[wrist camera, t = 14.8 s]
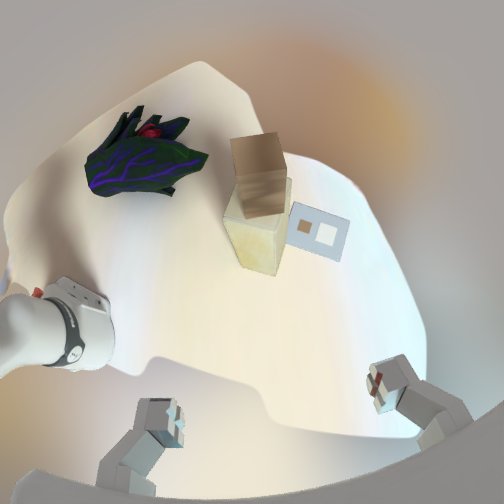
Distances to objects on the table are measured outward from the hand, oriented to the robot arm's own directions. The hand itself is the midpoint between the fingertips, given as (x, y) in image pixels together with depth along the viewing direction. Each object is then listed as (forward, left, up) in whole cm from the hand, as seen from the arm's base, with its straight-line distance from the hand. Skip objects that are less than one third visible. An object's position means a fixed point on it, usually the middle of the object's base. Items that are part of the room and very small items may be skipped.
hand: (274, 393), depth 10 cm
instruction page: (-3, +25, -39) cm, 46 cm away
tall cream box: (-10, +16, -39) cm, 43 cm away
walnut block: (-10, +15, -18) cm, 26 cm away
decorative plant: (-39, +21, -40) cm, 59 cm away
